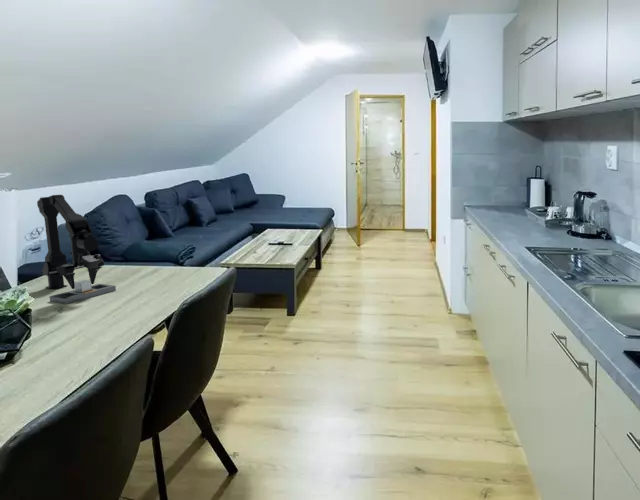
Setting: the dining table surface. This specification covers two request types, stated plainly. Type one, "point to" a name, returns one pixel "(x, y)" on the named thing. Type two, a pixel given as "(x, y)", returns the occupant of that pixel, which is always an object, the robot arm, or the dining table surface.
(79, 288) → the steel block
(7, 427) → the dining table surface
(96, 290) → the grey slotted frame
